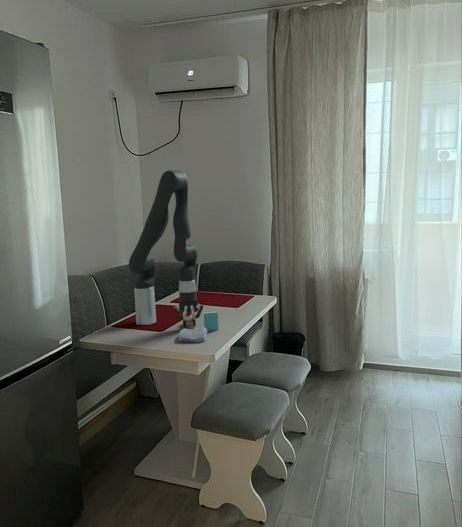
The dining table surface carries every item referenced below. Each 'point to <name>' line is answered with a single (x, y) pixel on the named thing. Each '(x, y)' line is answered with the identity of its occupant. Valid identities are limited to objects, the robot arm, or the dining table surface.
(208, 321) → the tile
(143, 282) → the robot arm
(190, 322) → the spatula
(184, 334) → the stone block
